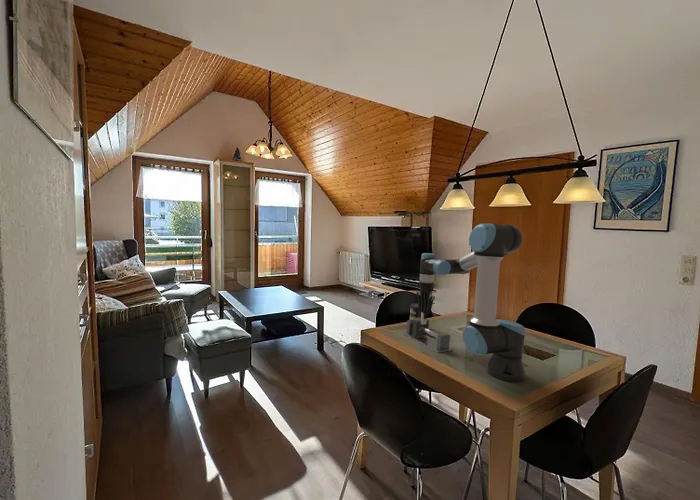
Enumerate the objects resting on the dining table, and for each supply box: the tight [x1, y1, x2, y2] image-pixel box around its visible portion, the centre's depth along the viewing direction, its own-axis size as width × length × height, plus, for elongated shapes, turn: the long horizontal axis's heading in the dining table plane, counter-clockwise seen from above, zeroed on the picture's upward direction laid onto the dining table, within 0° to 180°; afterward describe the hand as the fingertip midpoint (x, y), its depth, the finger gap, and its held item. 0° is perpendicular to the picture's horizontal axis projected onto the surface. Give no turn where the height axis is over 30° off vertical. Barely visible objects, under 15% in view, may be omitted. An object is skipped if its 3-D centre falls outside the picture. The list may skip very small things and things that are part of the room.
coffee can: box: [409, 303, 421, 320], centre depth 205 cm, size 10×10×14 cm
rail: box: [402, 319, 454, 354], centre depth 182 cm, size 30×10×8 cm, turn 26°
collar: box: [412, 319, 430, 337], centre depth 187 cm, size 3×8×8 cm, turn 116°
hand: (423, 323), depth 185 cm, fingers closed
